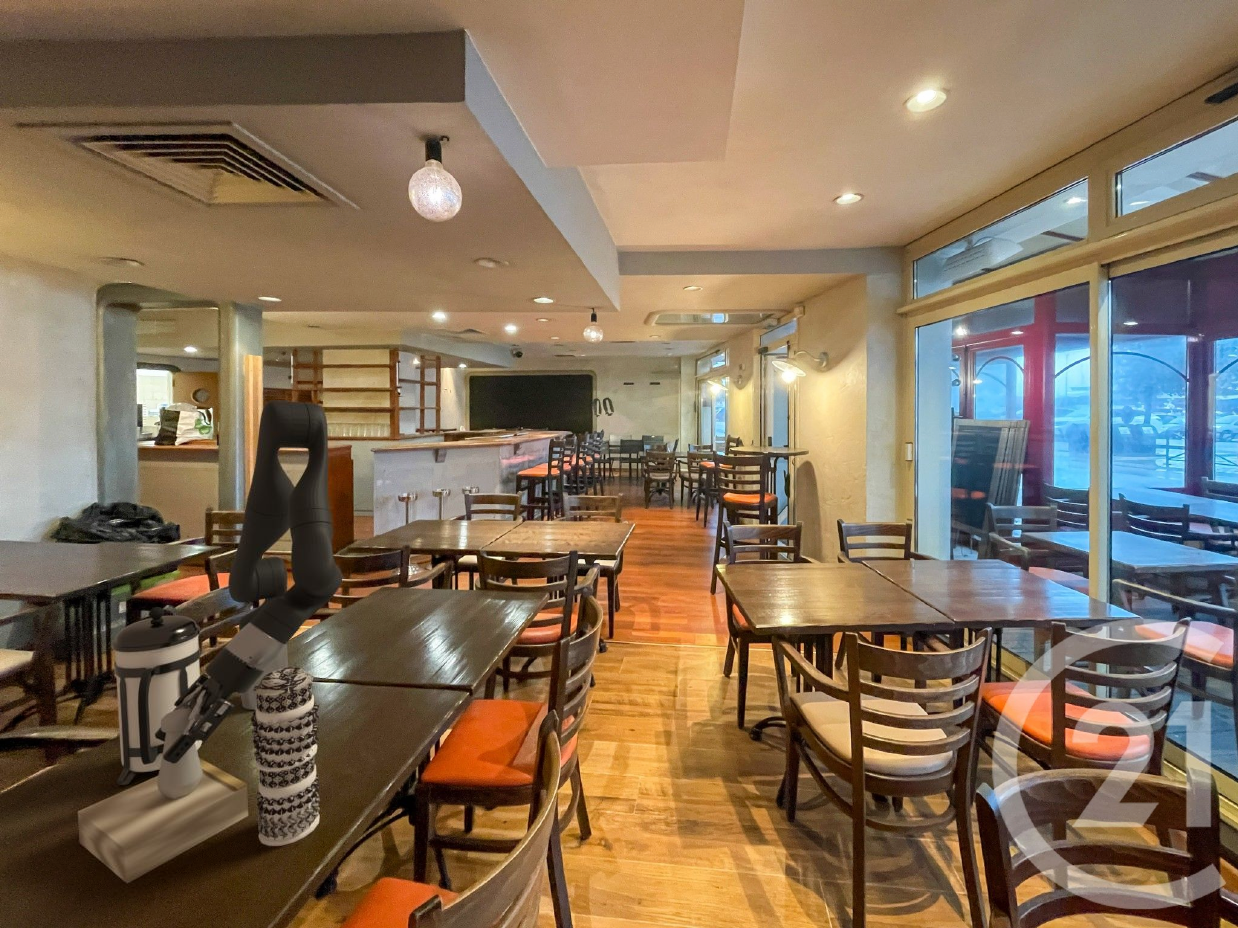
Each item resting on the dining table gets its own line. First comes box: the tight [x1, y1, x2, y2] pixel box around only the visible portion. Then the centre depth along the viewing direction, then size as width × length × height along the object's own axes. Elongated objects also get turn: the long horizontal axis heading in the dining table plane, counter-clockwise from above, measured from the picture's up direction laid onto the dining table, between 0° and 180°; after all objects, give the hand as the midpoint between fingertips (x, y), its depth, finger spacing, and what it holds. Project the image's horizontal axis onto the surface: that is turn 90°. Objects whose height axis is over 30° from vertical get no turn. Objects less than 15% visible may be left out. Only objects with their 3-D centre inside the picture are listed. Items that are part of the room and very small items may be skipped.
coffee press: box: [111, 606, 205, 787], centre depth 106 cm, size 17×16×30 cm
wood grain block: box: [77, 757, 249, 884], centre depth 90 cm, size 16×16×5 cm
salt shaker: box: [157, 709, 203, 800], centre depth 91 cm, size 6×6×13 cm
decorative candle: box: [250, 666, 321, 847], centre depth 90 cm, size 9×9×25 cm
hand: (164, 749), depth 89 cm, fingers open, 8 cm apart
